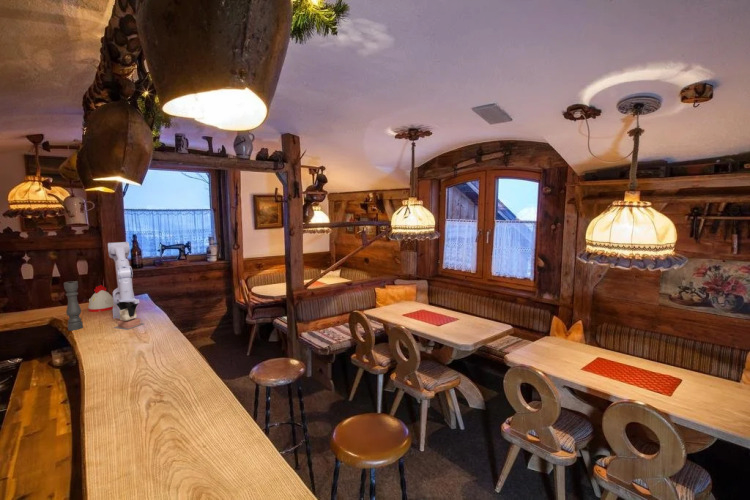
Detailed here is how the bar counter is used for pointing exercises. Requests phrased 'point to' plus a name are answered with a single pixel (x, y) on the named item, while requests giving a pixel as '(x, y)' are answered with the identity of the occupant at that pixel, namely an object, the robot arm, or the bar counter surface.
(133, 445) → the bar counter surface
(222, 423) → the bar counter surface
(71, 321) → the candle holder
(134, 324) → the terracotta brick
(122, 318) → the ash brick
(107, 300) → the white and red dome
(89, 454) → the bar counter surface
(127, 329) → the base plate
